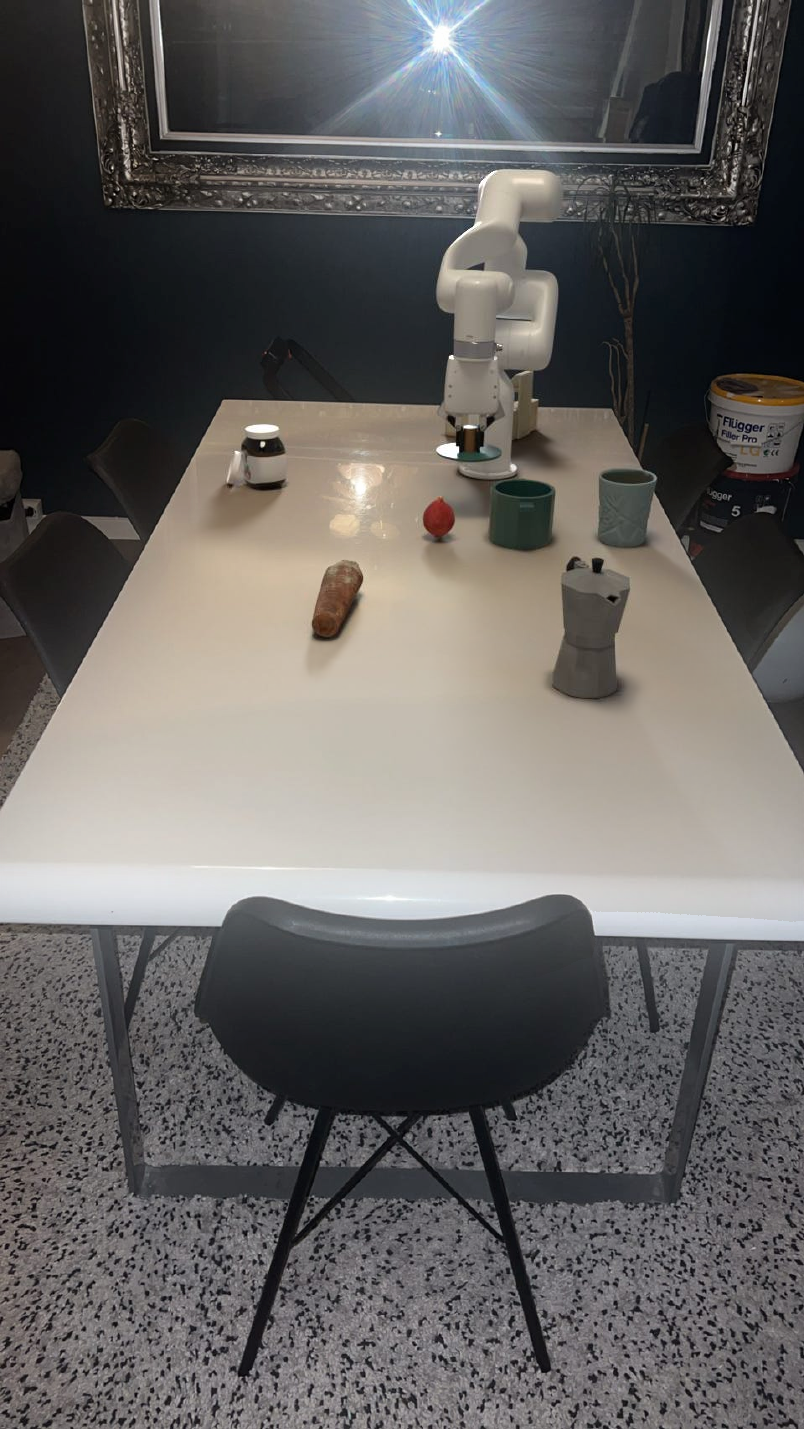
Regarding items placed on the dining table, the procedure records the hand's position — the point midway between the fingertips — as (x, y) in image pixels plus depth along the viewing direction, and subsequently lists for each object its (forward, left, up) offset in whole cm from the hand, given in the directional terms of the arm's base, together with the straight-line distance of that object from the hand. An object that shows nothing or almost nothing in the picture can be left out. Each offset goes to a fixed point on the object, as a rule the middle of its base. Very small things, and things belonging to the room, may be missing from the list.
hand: (469, 449), depth 197 cm
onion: (+4, -16, -13) cm, 21 cm away
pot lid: (0, 0, -1) cm, 1 cm away
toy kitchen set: (-28, +56, -12) cm, 64 cm away
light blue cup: (+31, +4, -12) cm, 34 cm away
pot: (+16, -7, -12) cm, 21 cm away
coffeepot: (+51, -51, -12) cm, 73 cm away
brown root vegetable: (+11, -54, -13) cm, 56 cm away
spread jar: (-45, -12, -12) cm, 48 cm away
